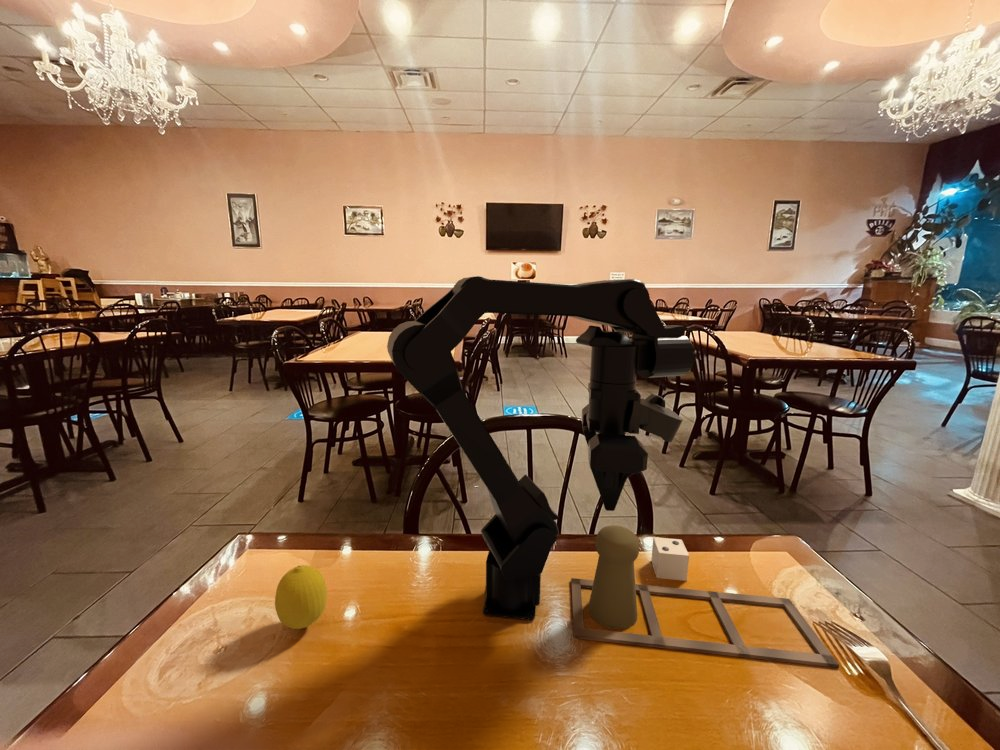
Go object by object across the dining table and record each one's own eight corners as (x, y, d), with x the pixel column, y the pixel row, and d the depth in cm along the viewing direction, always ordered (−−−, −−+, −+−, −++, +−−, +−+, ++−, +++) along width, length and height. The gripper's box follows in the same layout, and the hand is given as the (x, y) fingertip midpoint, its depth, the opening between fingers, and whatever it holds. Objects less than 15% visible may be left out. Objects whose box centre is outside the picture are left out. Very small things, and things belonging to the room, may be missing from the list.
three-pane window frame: (573, 638, 50) (574, 634, 50) (571, 580, 60) (571, 578, 59) (838, 667, 46) (839, 664, 46) (788, 601, 56) (789, 598, 56)
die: (656, 578, 60) (659, 552, 60) (651, 561, 64) (653, 536, 63) (686, 581, 60) (689, 555, 59) (679, 563, 64) (681, 539, 63)
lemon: (337, 626, 51) (333, 566, 50) (289, 653, 47) (283, 589, 46) (316, 603, 55) (312, 546, 53) (270, 627, 51) (264, 567, 49)
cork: (640, 633, 50) (647, 549, 48) (587, 624, 52) (592, 542, 50) (635, 598, 56) (641, 521, 54) (588, 591, 57) (592, 516, 55)
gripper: (703, 400, 44) (689, 536, 47) (660, 369, 63) (652, 469, 65) (594, 395, 46) (587, 528, 49) (583, 367, 64) (579, 464, 67)
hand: (605, 493), depth 57 cm, fingers open, 9 cm apart
